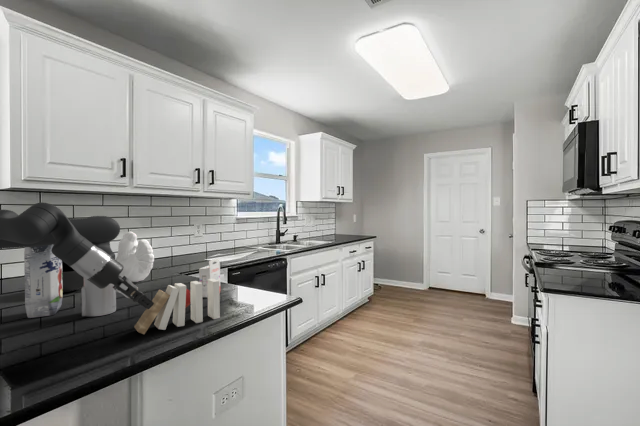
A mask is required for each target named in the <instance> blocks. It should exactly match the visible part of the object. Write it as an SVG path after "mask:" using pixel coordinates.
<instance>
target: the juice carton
mask: <svg viewBox="0 0 640 426" xmlns="http://www.w3.org/2000/svg"><path fill="white" fill-rule="evenodd" d="M53 246H54V245H45V246H35V247H24V253H23V255H24V258H23V259H24V261H23V262H24V263H23V265H24V266H23V267H24V306H25V312H26V316H27V318H28V319H31V318H32V319H33V318H40V317H41V318H42V317H49V316H55V315H56V313H58V311H59V310H60V309H61V307H62V303H63V298H64V297H63V293H64V292H63V289H62V260H60V259H59V258H57V257H56V256H55V255H54V254H53V253H52V247H53Z"/></svg>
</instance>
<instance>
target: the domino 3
mask: <svg viewBox="0 0 640 426" xmlns="http://www.w3.org/2000/svg"><path fill="white" fill-rule="evenodd" d="M189 283H190V285H189V286H190V289H189V291H190V298H191V304H190V320H191V321H193V322H194V323H195V324H199V323H203V321H204V319H203V318H204V317H203V314H204V313H203V305H204V304H203V297H202V283H200V281H198V280H193V281H190V282H189Z"/></svg>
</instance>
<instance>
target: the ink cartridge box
mask: <svg viewBox="0 0 640 426" xmlns="http://www.w3.org/2000/svg"><path fill="white" fill-rule="evenodd" d="M198 274H199V277H198V278H199V282H200V283H202V298H208V289H207V279H216V280H218V281H219V288H220V289H221V263H220V258H215V259H212V260H208V265H205V266H203V267H200V268H198Z"/></svg>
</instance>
